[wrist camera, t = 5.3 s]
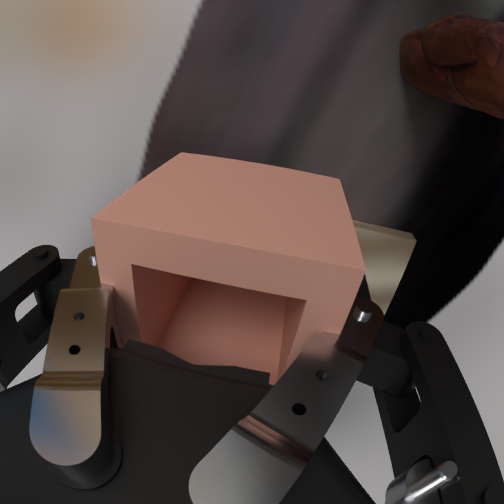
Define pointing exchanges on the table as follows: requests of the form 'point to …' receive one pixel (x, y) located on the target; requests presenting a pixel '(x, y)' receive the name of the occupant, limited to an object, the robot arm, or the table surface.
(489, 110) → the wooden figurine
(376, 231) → the peg board
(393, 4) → the table surface
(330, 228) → the bead
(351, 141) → the table surface
